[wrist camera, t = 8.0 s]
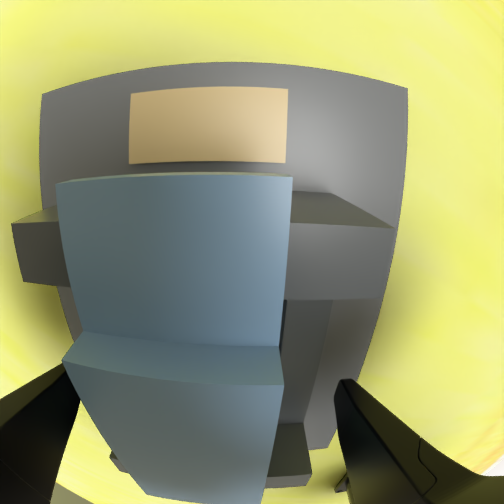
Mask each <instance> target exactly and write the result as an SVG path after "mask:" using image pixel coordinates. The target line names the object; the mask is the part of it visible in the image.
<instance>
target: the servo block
mask: <svg viewBox="0 0 504 504" xmlns="http://www.w3.org/2000/svg"><path fill="white" fill-rule="evenodd" d="M292 182H293V177H291V176H290V175H288V174H275V173H249V172H172V173H147V174H129V175H115V176H102V177H92V178H82V179H73V180H69V181H65V182H61V183H57V184H55V187H56V200H57V210H58V218H59V226H60V233H61V240H62V246H63V251H64V257H65V262H66V267H67V272H68V276H69V281H70V285H71V289H72V293H73V297H74V301H75V305H76V308H77V312H78V315H79V319H80V322H81V325H82V328H83V332H82V333H81V334H80V336H79V337H78V338H77V340H76V341H75V342H74V344H73V345H72V346H71V348H70V349H69V350H68V352H67V353H66V354H65V356H64V357H63V359H62V363H63V365H64V367H65V369H66V371H67V373H68V376H69V378H70V380H71V382H72V384H73V386H74V388H75V390H76V392H77V394H78V396H79V397H80V399H81V401H82V403H83V405H84V407H85V408H86V410H87V412H88V414H89V415H90V417H91V419H92V420H93V422H94V424H95V425H96V427H97V429H98V430H99V432H100V433H101V435H102V436H103V438H104V439H105V441H106V442H107V444H108V445H109V447H110V448H111V450H112V451H113V453H114V454H115V455H116V457H117V458H118V460H119V461H120V462H121V464H122V465H123V466H124V468H125V469H126V470H127V471H128V473H129V474H130V475H131V477H132V478H133V479H134V480H135V481H136V483H137V484H138V485H139V486H140V487H141V489H142V490H143V491H144V492H145V493H146V494H147V495H151V496H156V497H162V498H167V499H173V500H179V501H187V502H195V503H204V504H261V500H262V496H263V492H264V487H265V483H266V478H267V474H268V469H269V464H270V460H271V455H272V450H273V445H274V440H275V435H276V429H277V424H278V419H279V413H280V407H281V402H282V396H283V390H284V379H283V372H282V366H281V359H280V352H279V339H280V330H281V320H282V310H283V300H284V290H285V279H286V267H287V255H288V242H289V229H290V215H291V199H292Z"/></svg>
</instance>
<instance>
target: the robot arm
mask: <svg viewBox="0 0 504 504" xmlns="http://www.w3.org/2000/svg"><path fill="white" fill-rule="evenodd" d="M80 400H81V399H80V397H79V396H78V394H77V392H76V390H75V388H74V386H73V384H72V382H71V380H70V378H69V376H68V373H67V371H66V369H65V367H64V365H63V363H61V364H60V365H58V366H56V367H54V368H53V369H51V370H49V371H48V372H46V373H44V374H42V375H41V376H39V377H37V378H36V379H34V380H32V381H30V382H29V383H27V384H25V385H24V386H22V387H20V388H18V389H17V390H15V391H13V392H12V393H10V394H8V395H6V396H5V397H3V398H1V399H0V504H50V501H51V497H52V492H53V489H54V485H55V481H56V478H57V474H58V471H59V467H60V464H61V460H62V457H63V454H64V451H65V448H66V445H67V442H68V439H69V436H70V433H71V430H72V427H73V424H74V422H75V419H76V415H77V412H78V408H79V404H80ZM334 407H335V414H336V422H337V429H338V436H339V441H340V446H341V449H342V453H343V457H344V461H345V465H346V469H347V474H346V475H345V476H344V478H343V479H342V480H341V482H340V483H339V484H338V485H337V486H336V488H335V489H334V490H335V493H339V492H344V491H347V494H348V499H349V503H350V504H504V476H483V475H479V474H476V473H474V472H472V471H470V470H469V469H467V468H465V467H464V466H462V465H460V464H459V463H457V462H455V461H454V460H452V459H450V458H449V457H447V456H446V455H444V454H443V453H441V452H440V451H438V450H437V449H436V448H434V447H433V446H432V445H430V444H429V443H428V442H427V441H425V440H424V439H423V438H420V436H419V435H418V434H417V433H415V432H414V431H413V430H412V429H411V428H409V427H408V426H407V425H406V424H405V423H403V422H402V421H401V420H400V419H399V418H398V417H396V416H395V415H394V414H393V413H392V412H390V411H389V410H388V409H387V408H386V407H385V406H383V405H382V404H381V403H380V402H379V401H378V400H376V399H375V398H374V397H373V396H372V395H371V394H369V393H368V392H367V391H366V390H365V389H364V388H362V387H361V386H360V385H359V384H358V383H357V382H356V381H354V380H353V379H351V378H347V379H340V380H339V382H338V385H337V388H336V391H335V394H334Z"/></svg>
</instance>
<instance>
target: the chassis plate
mask: <svg viewBox="0 0 504 504" xmlns="http://www.w3.org/2000/svg"><path fill="white" fill-rule="evenodd" d="M407 132H408V88H405V87H401V86H398V85H394V84H391V83H387V82H383V81H380V80H376V79H371V78H367V77H363V76H358V75H354V74H349V73H343V72H338V71H332V70H326V69H320V68H312V67H305V66H296V65H286V64H273V63H253V62H211V63H191V64H179V65H169V66H160V67H152V68H145V69H139V70H133V71H127V72H122V73H117V74H112V75H107V76H103V77H98V78H94V79H90V80H86V81H83V82H79V83H75V84H72V85H69V86H65V87H62V88H59V89H56V90H53V91H50V92H47V93H44V94H42V102H41V114H40V136H39V161H40V183H41V196H42V207H43V210H42V211H39V212H37V213H34V214H32V215H29V216H27V217H25V218H22V219H20V220H18V221H16V222H13V223H11V226H12V232H13V238H14V243H15V248H16V253H17V258H18V262H19V266H20V270H21V274H22V278H23V282H30V283H37V284H45V285H53V286H57V289H58V293H59V296H60V300H61V304H62V307H63V310H64V314H65V317H66V320H67V323H68V326H69V329H70V332H71V335H72V338H73V341H74V342H75V341H76V340H77V338H78V337H79V336H80V334H81V333H82V332H83V328H82V325H81V322H80V319H79V315H78V312H77V308H76V305H75V301H74V297H73V293H72V289H71V285H70V281H69V276H68V272H67V267H66V262H65V257H64V251H63V246H62V240H61V233H60V226H59V218H58V210H57V200H56V187H55V184H57V183H61V182H65V181H69V180H73V179H82V178H92V177H102V176H115V175H129V174H147V173H172V172H249V173H275V174H288V175H290V176H291V177H293V182H292V199H291V215H290V229H289V242H288V255H287V267H286V279H285V290H284V300H283V310H282V320H281V330H280V339H279V352H280V359H281V366H282V372H283V379H284V390H283V396H282V402H281V407H280V413H279V419H278V424H277V429H276V435H275V440H274V445H273V450H272V455H271V460H270V464H269V469H268V474H267V478H266V483H265V487H264V488H284V487H297V486H306V484H307V483H308V481H309V479H310V477H311V475H312V469H311V463H310V457H309V451H308V450H314V449H323V448H328V446H329V444H330V442H331V440H332V437H333V435H334V433H335V431H336V429H337V422H336V414H335V407H334V394H335V391H336V388H337V385H338V382H339V380H340V379H347V378H351V379H353V380H354V381H356V382H357V379H358V377H359V374H360V371H361V368H362V366H363V363H364V360H365V357H366V354H367V351H368V348H369V345H370V342H371V339H372V336H373V332H374V329H375V326H376V322H377V319H378V315H379V312H380V308H381V305H382V301H383V297H384V293H385V289H386V285H387V281H388V276H389V272H390V267H391V263H392V258H393V253H394V248H395V242H396V237H397V231H398V225H399V218H400V211H401V204H402V196H403V188H404V178H405V167H406V153H407ZM109 458H110V459H111V460H112V462H113V463H114V464H115V466H116V467H117V468H118V469H119V471H121V472H125V473H128V471H127V470H126V469H125V468H124V466H123V465H122V464H121V462H120V461H119V460H118V458H117V457H116V455H115V454H114V453H113V451H111V454H110V457H109Z"/></svg>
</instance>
